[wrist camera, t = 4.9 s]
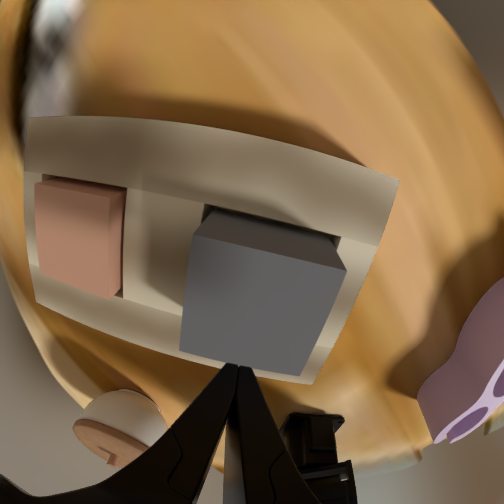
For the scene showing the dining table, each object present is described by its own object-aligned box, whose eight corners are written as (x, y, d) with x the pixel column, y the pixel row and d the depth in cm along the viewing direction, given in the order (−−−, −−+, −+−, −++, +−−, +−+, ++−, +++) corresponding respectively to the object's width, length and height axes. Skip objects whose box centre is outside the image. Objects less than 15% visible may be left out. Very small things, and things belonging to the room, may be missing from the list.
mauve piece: (448, 405, 25) (465, 442, 19) (395, 394, 24) (412, 443, 17) (541, 288, 18) (572, 316, 11) (512, 241, 16) (558, 272, 10)
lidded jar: (182, 436, 29) (166, 494, 20) (110, 414, 29) (85, 464, 20) (176, 389, 25) (150, 465, 16) (89, 364, 25) (50, 422, 16)
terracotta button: (137, 270, 18) (109, 300, 14) (72, 250, 18) (40, 272, 14) (143, 184, 16) (110, 198, 12) (72, 173, 15) (34, 183, 12)
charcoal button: (295, 328, 16) (299, 376, 12) (197, 306, 16) (179, 350, 12) (328, 237, 14) (347, 270, 10) (214, 208, 14) (192, 234, 10)
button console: (306, 343, 21) (312, 384, 17) (65, 277, 21) (36, 302, 17) (370, 170, 16) (400, 180, 12) (69, 117, 15) (28, 117, 11)
